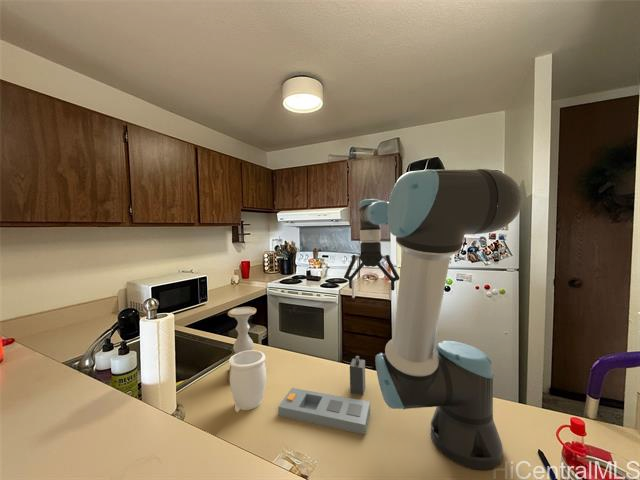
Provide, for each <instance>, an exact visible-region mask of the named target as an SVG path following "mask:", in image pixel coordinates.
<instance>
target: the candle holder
mask: <svg viewBox="0 0 640 480" xmlns="http://www.w3.org/2000/svg"><path fill="white" fill-rule="evenodd" d="M256 313H257V308H255V307H252V306H241V307H240V306H239V307H235V308H232V309H230V310H228V312H227V316H229V317H230V318H234V319H235V320H236V321H237V325H236V327H235V330H236V332H237V333H238V335H237V337H236V340H235V341H234V344H233V349H232V350H233V351H234V353H235V354H237V353H239V352H242V351H247V350H254V347H255V346H254V345H255V344H254V341H253V339H252V338H251V337H250V335H249V334H248V332H249V330H250V328H251V325H250V324H249V323H248V321H249V319H250V317H251V316H252V315H255V314H256ZM230 371H231V366H230V365H229V369H228V376H227V384H228V385H230Z"/></svg>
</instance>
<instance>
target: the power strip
mask: <svg viewBox="0 0 640 480" xmlns="http://www.w3.org/2000/svg"><path fill="white" fill-rule="evenodd" d="M277 408H278V410H277V413H278V416H279V417H283V418H287V419H291V420H296V421H297V420H298V421H301V422H307V423H311V424H314V425H320V426H325V427H329V428H333V429H337V430H343V431H347V432H349V433H350V432H352V433H357V434H360V435H367V434H366V433H367V427H368V425H369V424H368V423H369V418H370V413H371V412H370V411H371V402H370V401H368V400H363V399H362V400H361V399H358V398H352V397H346V396H340V395H334V394H328V393H323V392H318V391H317V392H316V391H313V390H307V389H306V390H305V389H301V388H295V387H291V388H290V389H289V391H288V393H287V394H285V397H284V398H283V399H282V400H281V402H280V403H279V405H278V407H277Z"/></svg>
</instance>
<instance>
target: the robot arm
mask: <svg viewBox="0 0 640 480" xmlns="http://www.w3.org/2000/svg"><path fill="white" fill-rule="evenodd" d="M522 205H523V195H522V191H521V189H520V186H519V184H518V183H517V182H516V180H514V178H512V177H511V176H510V175H508V174H506V173H504V172H501V171H499V170H495V169H488V168H479V169H427V168H426V169H423V170H422V169H421V170H414V171H413V170H412V171H411V170H410V171H408V172H405V173H404V174H402V175H401V176H400V177H399V178H398V179H397V181H396V183H394V185H393V188H392V189H391V193H390V195H389V201H386V200H379V199H377V198H368V199H363V200H361V201H359V208H358V211H359V241H360V243H359V246H360V247H359V248H360V253H359V254H356V253H353V254H352V255H351V260H350V262H349V263H350V264H349V266H348V267H347V270H346V272H345V274H344V276H343V279H346V280H348V289H351V298H352V299H355V297H356V280H355V279H354V278H355V277H356V275H358V273H359V272H360V271H361V270H362V268H363V267H364V266H365V267H366V268H369V267H372V268H375V267H378V269H380V270H381V272H382V273H383V274H384V275H385V276H386V277H387V279H388V300H389V301H392V298H393V297H392V291H395V286H396V285H395V282H397V281H399V283H398V288H397V289H398V290H397V291H398V292H397V298H396V300H397V301H396V307H395V308H396V309H395V318H394V327H393V336H392V338H391V339H390V340H388V342H386V345H385V348H384V353H383V352H379V353H378V354H376V355H375V358H374V359H375V361H374V362H375V370H376V376H377V379H378V380H377V381H378V385H379V389H380V392H381V395H382V399H383V401H384V403H385V405H386V406H388V407H389V409H399V410H400V409H402V410H403V411H404V410H406V409H407V410H408V409H420V408H421V409H423V408H435V407H436V408H435V410H434V413H433V416H432V418H431V419H430V438H431V440H432V442H433V444H434V446H435V447H436V448H437V449H438V450H439V452H441V454H443V455H444V456H445V457H446V458H448V459H449V460H451V461H452V462H454V463H456V464H458V465H460V466H462V467H465V468H468V469H470V470H471V469H472V470H477V471H488V470H489V471H490V470H494V469H495V468H497V467H498V466H500V465H501V463H502V461H503V455H504V454H503V449H504V448H503V444H502V439H501V437H500V434H499V431H498V429H497V427H496V424H495V421H494V414H493V413H494V395H493V393H494V390H493V389H494V388H493V387H494V385H493V384H494V383H493V382H494V381H493V380H494V377H495V376H494V372H493V371H494V369H493V363H492V359H491V357H489V355H488V354H486V352H484V351H483V350H481V349H479V348H477V347H475V346H473V345H470V344H468V343H464V342H460V341H455V340H454V341H453V340H441V341H439V342H438V343H437V344H436V346H435V343H436V337H437V331H438V325H439V321H440V316H441V315H440V314H441V309H442V305H443V304H442V303H443V299H444V293H445V288H446V282H447V277H448V271H449V265H450V259H451V256H453V255H456V254H457V253H459V252H460V251H461V249H462V246H463V241H464V237H465V235H479V234H489V233H494V232H496V231H499V230H501V229H504V228H505V227H507V226H508V225H509V224H511V223H512V222H513V221H514V220H515V219H516V217H517V216H518V215H519V213H520V211H521V208H522ZM385 225H387V227H388V231H389V232H390V234H392V236H394V237H395V242H396V244H397V245H398V246H399V248H401V249H402V255H401V263H400V271H399V272H400V273H398V272H397V269H396V268H395V266H394V264H393V261H392V260H391V256H390V254H388V253H387V254H382V245H381V242H380V241H381V239H382V238H381V226H385ZM358 259H359V260H360V261H361V263H360V264H359V265H358V266H357V267H356V269H355V270H354V271H353V273H352V274H351V271H352V270H353V267H354V266H355V263H356V261H358ZM382 260H384V261H385V262H386V263H387V265H388V267H389V269H390V271H391V272H392V274H393V275H392V274H391V272H390V271H389V270H388V269H386V267H385V266H384V265H383V263H381V261H382ZM350 274H351V275H350ZM434 348H436V350H434Z"/></svg>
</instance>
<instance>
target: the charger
mask: <svg viewBox="0 0 640 480" xmlns="http://www.w3.org/2000/svg"><path fill="white" fill-rule="evenodd" d="M349 390H350V391H349V392H350V394H355V395H359V396H360V395H361V396H364V393H365V390H366V359H360V356H359V355H356V356H355V358H352V359H351V361H350V365H349Z"/></svg>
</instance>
